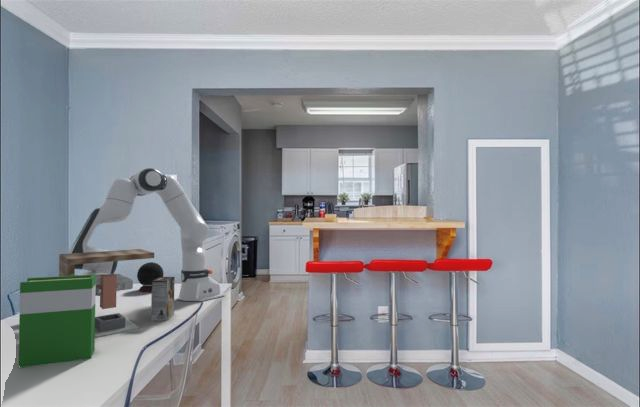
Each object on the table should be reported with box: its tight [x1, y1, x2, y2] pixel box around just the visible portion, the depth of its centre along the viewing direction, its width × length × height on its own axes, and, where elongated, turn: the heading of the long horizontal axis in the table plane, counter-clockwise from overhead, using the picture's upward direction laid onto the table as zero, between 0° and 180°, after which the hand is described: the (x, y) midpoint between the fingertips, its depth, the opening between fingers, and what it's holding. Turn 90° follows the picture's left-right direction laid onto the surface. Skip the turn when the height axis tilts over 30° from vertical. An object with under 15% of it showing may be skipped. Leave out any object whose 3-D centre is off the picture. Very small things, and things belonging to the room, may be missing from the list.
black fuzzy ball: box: [136, 261, 164, 293], centre depth 208 cm, size 13×13×15 cm
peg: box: [99, 273, 118, 310], centre depth 145 cm, size 4×4×12 cm
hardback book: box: [18, 274, 96, 368], centre depth 115 cm, size 18×7×24 cm, turn 113°
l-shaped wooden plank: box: [58, 248, 155, 276], centre depth 142 cm, size 28×16×28 cm, turn 133°
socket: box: [95, 312, 140, 339], centre depth 143 cm, size 16×16×4 cm
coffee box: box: [150, 276, 175, 322], centre depth 157 cm, size 9×6×16 cm
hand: (108, 290), depth 144 cm, fingers closed on peg, 4 cm apart
